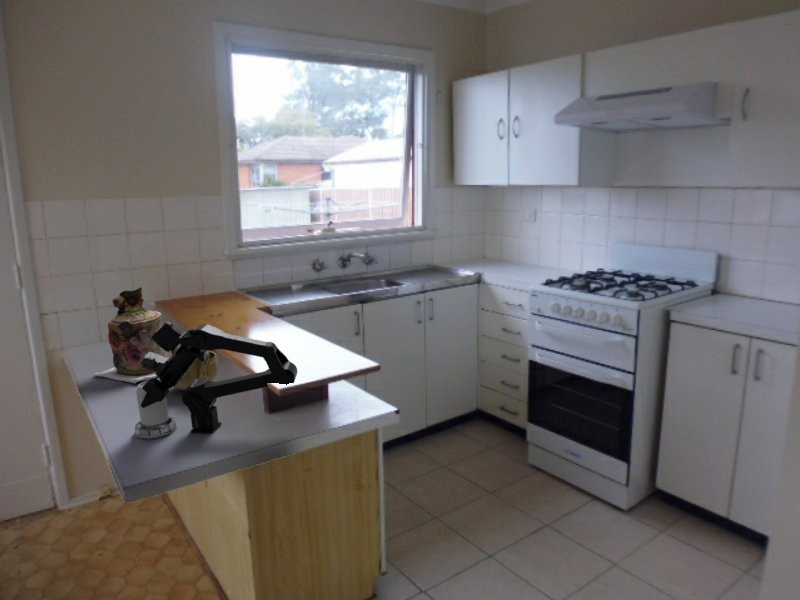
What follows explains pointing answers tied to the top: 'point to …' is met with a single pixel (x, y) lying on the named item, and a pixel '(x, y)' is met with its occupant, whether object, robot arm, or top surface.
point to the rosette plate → (155, 430)
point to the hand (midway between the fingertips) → (147, 401)
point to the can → (152, 410)
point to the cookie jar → (132, 338)
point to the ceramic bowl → (199, 370)
